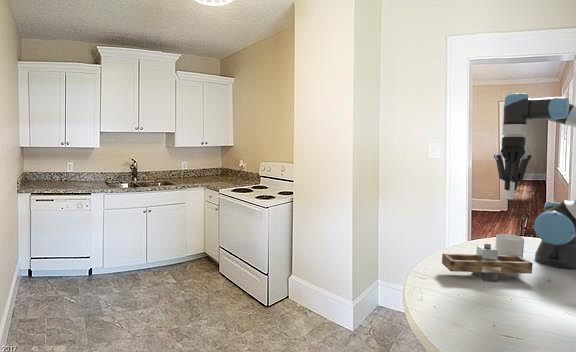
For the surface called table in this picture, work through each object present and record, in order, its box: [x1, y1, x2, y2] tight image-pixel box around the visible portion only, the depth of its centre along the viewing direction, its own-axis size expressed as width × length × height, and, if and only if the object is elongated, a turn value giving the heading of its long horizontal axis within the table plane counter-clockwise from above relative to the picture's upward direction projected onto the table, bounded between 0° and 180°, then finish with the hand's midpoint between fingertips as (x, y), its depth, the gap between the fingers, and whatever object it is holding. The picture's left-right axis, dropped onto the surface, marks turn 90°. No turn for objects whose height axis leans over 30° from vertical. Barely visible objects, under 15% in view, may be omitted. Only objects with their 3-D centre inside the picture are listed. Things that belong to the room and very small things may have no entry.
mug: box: [494, 233, 525, 258], centre depth 138 cm, size 12×9×11 cm
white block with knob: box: [475, 243, 498, 261], centre depth 125 cm, size 5×4×6 cm
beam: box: [441, 253, 534, 283], centre depth 126 cm, size 26×9×7 cm, turn 87°
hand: (509, 198), depth 140 cm, fingers closed
